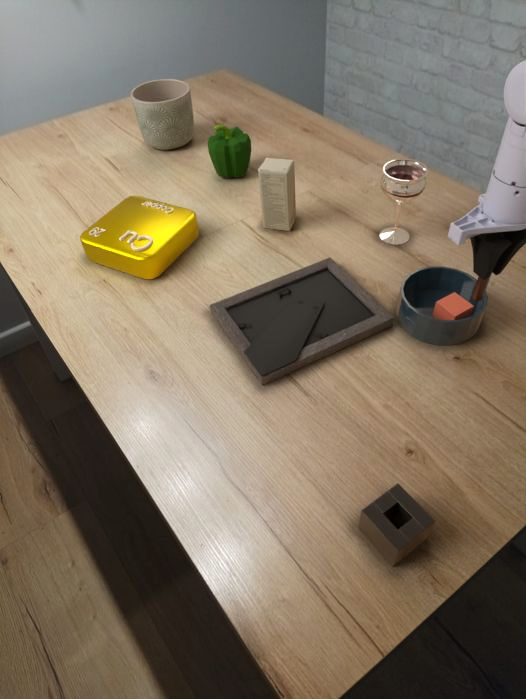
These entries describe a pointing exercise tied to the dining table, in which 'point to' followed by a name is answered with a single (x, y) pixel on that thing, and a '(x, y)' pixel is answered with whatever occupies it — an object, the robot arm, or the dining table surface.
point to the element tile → (140, 236)
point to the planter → (164, 113)
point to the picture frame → (299, 319)
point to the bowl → (421, 299)
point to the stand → (404, 513)
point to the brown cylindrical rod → (480, 288)
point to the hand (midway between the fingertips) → (486, 272)
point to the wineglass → (401, 192)
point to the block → (452, 308)
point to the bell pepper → (229, 151)
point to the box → (277, 193)
